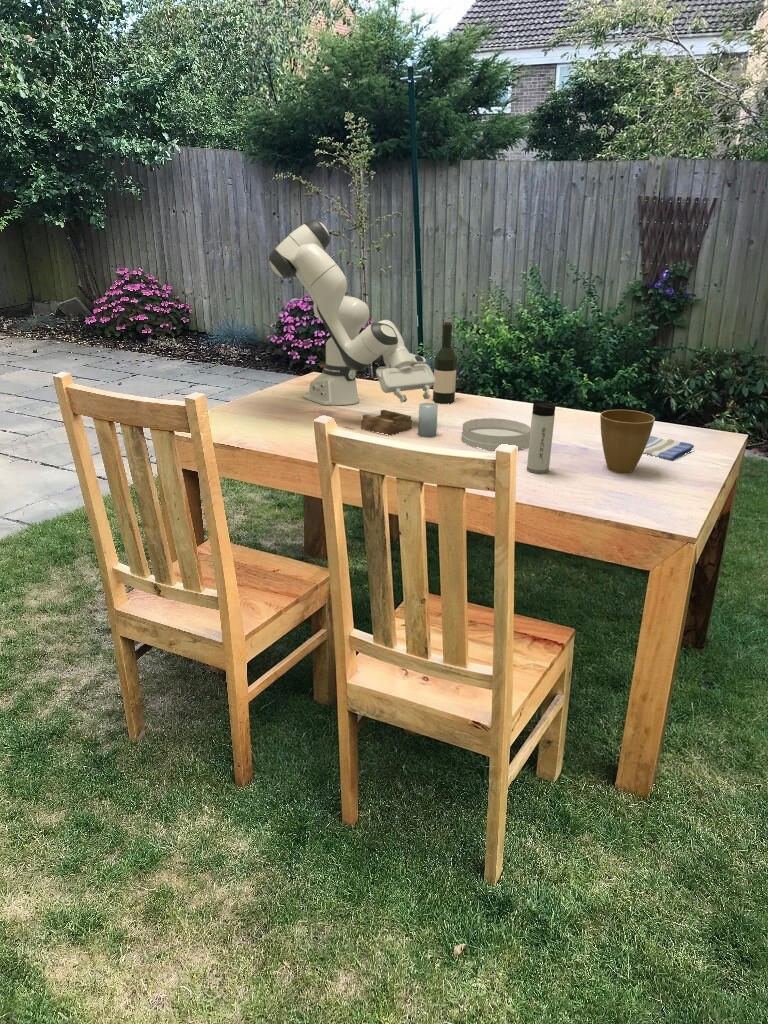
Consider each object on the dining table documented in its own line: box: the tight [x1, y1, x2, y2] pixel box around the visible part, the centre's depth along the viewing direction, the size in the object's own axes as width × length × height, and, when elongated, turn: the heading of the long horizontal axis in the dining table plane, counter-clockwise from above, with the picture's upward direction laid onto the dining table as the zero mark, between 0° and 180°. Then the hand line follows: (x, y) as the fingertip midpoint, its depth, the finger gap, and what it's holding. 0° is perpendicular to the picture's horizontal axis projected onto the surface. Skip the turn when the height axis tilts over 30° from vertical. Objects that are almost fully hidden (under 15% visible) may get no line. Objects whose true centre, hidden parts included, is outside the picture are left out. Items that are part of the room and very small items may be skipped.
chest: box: [360, 409, 413, 436], centre depth 261 cm, size 12×12×5 cm
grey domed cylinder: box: [417, 402, 439, 438], centre depth 255 cm, size 6×6×10 cm
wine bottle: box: [432, 321, 458, 405], centre depth 295 cm, size 8×8×30 cm
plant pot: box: [599, 409, 656, 474], centre depth 225 cm, size 15×15×16 cm
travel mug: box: [526, 399, 556, 475], centre depth 221 cm, size 6×7×20 cm
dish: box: [460, 417, 531, 452], centre depth 251 cm, size 22×22×5 cm
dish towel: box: [642, 435, 695, 461], centre depth 249 cm, size 17×24×3 cm
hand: (416, 399), depth 257 cm, fingers open, 8 cm apart
